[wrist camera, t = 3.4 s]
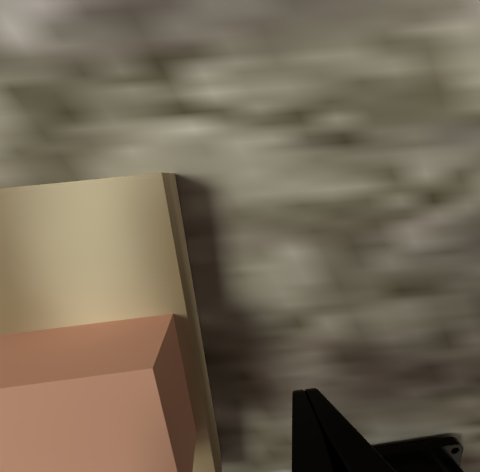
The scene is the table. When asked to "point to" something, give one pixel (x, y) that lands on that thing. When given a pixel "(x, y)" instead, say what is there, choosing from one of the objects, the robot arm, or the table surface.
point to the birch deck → (105, 270)
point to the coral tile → (96, 399)
